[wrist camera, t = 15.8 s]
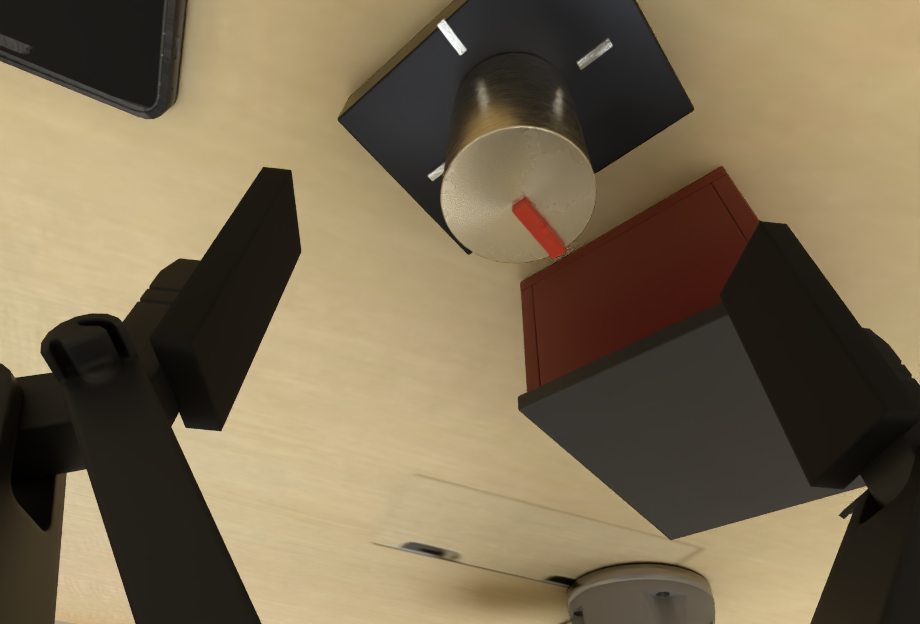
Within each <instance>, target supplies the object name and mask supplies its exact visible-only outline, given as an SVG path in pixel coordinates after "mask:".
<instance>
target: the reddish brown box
mask: <svg viewBox="0 0 920 624" xmlns="http://www.w3.org/2000/svg"><path fill="white" fill-rule="evenodd" d="M759 222H760V221H759V220H758V218H757V217H756V215H755V214H754V212H753V211H752V209H751V208H750V206H749V205H748V203H747V202H746V200H745V199H744V197H743V196H742V194H741V193H740V192H739V190H738V189H737V187H736V186H735V184H734V183H733V181H732V180H731V178H730V177H729V175H728V174H727V172H726V171H725V169H724V168H723V167H720V168H718V169H716V170H715V171H713V172H711V173H710V174H708V175H706V176H704V177H703V178H701V179H699V180H697V181H696V182H694V183H692V184H691V185H689V186H687V187H685V188H684V189H682V190H680V191H679V192H677V193H675V194H673V195H672V196H670V197H668V198H666V199H665V200H663V201H661V202H660V203H658V204H656V205H654V206H653V207H651V208H649V209H647V210H646V211H644V212H642V213H641V214H639V215H637V216H635V217H634V218H632V219H630V220H628V221H627V222H625V223H623V224H622V225H620V226H618V227H616V228H615V229H613V230H611V231H609V232H608V233H606V234H604V235H603V236H601V237H599V238H597V239H596V240H594V241H592V242H590V243H589V244H587V245H585V246H584V247H582V248H580V249H578V250H577V251H575V252H573V253H571V254H570V255H568V256H566V257H565V258H563V259H561V260H559V261H558V262H556V263H554V264H552V265H551V266H549V267H547V268H546V269H544V270H542V271H540V272H539V273H537V274H535V275H533V276H532V277H530V278H528V279H527V280H525V281H523V282H521V283H520V286H521V299H522V316H523V332H524V349H525V366H526V383H527V392H529V391H531V390H533V389H535V388H537V387H540V386H542V385H544V384H546V383H548V382H550V381H552V380H555V379H557V378H559V377H561V376H563V375H565V374H567V373H570V372H572V371H574V370H576V369H578V368H580V367H582V366H585V365H587V364H589V363H591V362H593V361H595V360H597V359H600V358H602V357H604V356H606V355H608V354H610V353H612V352H615V351H617V350H619V349H621V348H623V347H625V346H628V345H630V344H632V343H634V342H636V341H638V340H640V339H643V338H645V337H647V336H649V335H651V334H653V333H655V332H658V331H660V330H662V329H664V328H666V327H668V326H670V325H673V324H675V323H677V322H679V321H681V320H683V319H685V318H688V317H690V316H692V315H694V314H696V313H698V312H700V311H703V310H705V309H707V308H709V307H711V306H713V305H715V304H718V303H720V302H722V300H721V298H720V296H719V295H720V293H721V291H722V289H723V287H724V286H725V284H726V282H727V280H728V278H729V277H730V275H731V273H732V271H733V269H734V267H735V266H736V264H737V262H738V260H739V258H740V257H741V255H742V253H743V251H744V249H745V247H746V246H747V244H748V242H749V240H750V238H751V237H752V235H753V233H754V231H755V229H756V227H757V226H758V224H759Z"/></svg>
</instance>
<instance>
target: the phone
mask: <svg viewBox="0 0 920 624" xmlns="http://www.w3.org/2000/svg"><path fill="white" fill-rule="evenodd" d="M186 4H187V0H0V61H2V62H4V63H7V64H9V65H12V66H14V67H17V68H19V69H21V70H24V71H26V72H29V73H31V74H34V75H36V76H39V77H41V78H44V79H46V80H49V81H51V82H54V83H56V84H58V85H61V86H63V87H66V88H68V89H71V90H73V91H76V92H78V93H81V94H83V95H86V96H88V97H91V98H93V99H95V100H98V101H100V102H103V103H105V104H108V105H110V106H113V107H115V108H118V109H120V110H123V111H125V112H128V113H130V114H132V115H135V116H137V117H141V118H144V119H155V118H157V117H159V116H161V115H162V114H163V113H165V112H166V111H167V110H168V109H169V108H170V107H171V106H172V105H173V104H174V103H175V101H176V98H177V92H178V82H179V73H180V63H181V53H182V43H183V34H184V24H185V14H186Z"/></svg>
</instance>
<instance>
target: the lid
mask: <svg viewBox="0 0 920 624" xmlns="http://www.w3.org/2000/svg"><path fill="white" fill-rule="evenodd" d="M518 409H519V411H520V412H521V413H523V414H524V415H525V416H526V417H527V418H528V419H530V420H531V421H532V422H533V423H534V424H536V425H537V426H538V427H539V428H540V429H541V430H543V431H544V432H545V433H546V434H547V435H548V436H550V437H551V438H552V439H553V440H554V441H555V442H557V443H558V444H559V445H560V446H561V447H562V448H564V449H565V450H566V451H567V452H568V453H569V454H571V455H572V456H573V457H574V458H575V459H576V460H578V461H579V462H580V463H581V464H582V465H583V466H585V467H586V468H587V469H588V470H589V471H591V472H592V473H593V474H594V475H595V476H596V477H598V478H599V479H600V480H601V481H602V482H603V483H605V484H606V485H607V486H608V487H609V488H610V489H612V490H613V491H614V492H615V493H616V494H617V495H619V496H620V497H621V498H622V499H623V500H624V501H626V502H627V503H628V504H629V505H630V506H631V507H633V508H634V509H635V510H636V511H637V512H638V513H640V514H641V515H642V516H643V517H644V518H645V519H647V520H648V521H649V522H650V523H651V524H653V525H654V526H655V527H656V528H657V529H658V530H660V531H661V532H662V533H663V534H664V535H665V536H667V537H668V538H669V539H670V540H673V539H677V538H681V537H684V536H688V535H691V534H695V533H699V532H702V531H706V530H709V529H713V528H717V527H720V526H724V525H727V524H731V523H735V522H738V521H742V520H745V519H749V518H752V517H756V516H760V515H763V514H767V513H770V512H774V511H778V510H781V509H785V508H788V507H792V506H796V505H799V504H803V503H806V502H810V501H814V500H817V499H821V498H824V497H828V496H832V495H835V494H839V493H842V492H846V491H850V490H853V489H857V488H860V487H864V486H866V484H865V482H864V480H863V479H862V477H861V475H859V476H858V477H857V478H856V479H855V480H854V481H852V482H851V483H850V484H849V485H848V486H847V487H846V488H845V489H844V490H842V489H831V488H821V487H810V485H809V483H808V481H807V479H806V476H805V474H804V472H803V470H802V468H801V466H800V464H799V462H798V460H797V458H796V455H795V453H794V451H793V449H792V447H791V445H790V443H789V441H788V439H787V437H786V435H785V432H784V430H783V428H782V426H781V424H780V422H779V420H778V418H777V416H776V414H775V411H774V409H773V407H772V405H771V403H770V401H769V399H768V397H767V395H766V393H765V390H764V388H763V386H762V384H761V382H760V380H759V378H758V376H757V374H756V372H755V370H754V367H753V365H752V363H751V361H750V359H749V357H748V355H747V353H746V351H745V349H744V346H743V344H742V342H741V340H740V338H739V336H738V334H737V332H736V330H735V328H734V325H733V323H732V321H731V319H730V317H729V315H728V313H727V311H726V309H725V307H724V305H723V302H720V303H718V304H715V305H713V306H711V307H709V308H707V309H705V310H703V311H700V312H698V313H696V314H694V315H692V316H690V317H688V318H685V319H683V320H681V321H679V322H677V323H675V324H673V325H670V326H668V327H666V328H664V329H662V330H660V331H658V332H655V333H653V334H651V335H649V336H647V337H645V338H643V339H640V340H638V341H636V342H634V343H632V344H630V345H628V346H625V347H623V348H621V349H619V350H617V351H615V352H612V353H610V354H608V355H606V356H604V357H602V358H600V359H597V360H595V361H593V362H591V363H589V364H587V365H585V366H582V367H580V368H578V369H576V370H574V371H572V372H570V373H567V374H565V375H563V376H561V377H559V378H557V379H555V380H552V381H550V382H548V383H546V384H544V385H542V386H540V387H537V388H535V389H533V390H531V391H529V392H527V393H524V394H522V395H520V396H518Z"/></svg>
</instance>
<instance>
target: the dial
mask: <svg viewBox="0 0 920 624" xmlns="http://www.w3.org/2000/svg"><path fill="white" fill-rule="evenodd" d="M596 193H597V189H596V180H595V175H594V171H593V168H592V165H591V161H590V158H589V154H588V151H587V148H586V144H585V141H584V137H583V134H582V130H581V127H580V124H579V120H578V117H577V113H576V110H575V106H574V103H573V100H572V96H571V93H570V90H569V88H568V85H567V83H566V81H565V80H564V78H563V77H562V75H561V74H560V73H559V71H558V70H557V69H555V68H554V67H553V66H552V65H551V64H549V63H548V62H547V61H545V60H543V59H541V58H539V57H536V56H533V55H530V54H525V53H505V54H501V55H497V56H494V57H491V58H489V59H487V60H485V61H483V62H482V63H480V64H479V65H477V66H476V67H475V68H474V69H473V70H472V71H471V72H470V73H469V74H468V75H467V76H466V77H465V79H464V80H463V81H462V83H461V85H460V86H459V89H458V91H457V93H456V96H455V99H454V104H453V110H452V117H451V124H450V131H449V137H448V144H447V151H446V158H445V165H444V172H443V179H442V185H441V197H440V201H441V208H442V213H443V216H444V219H445V221H446V223H447V226H448V227H449V229H450V230H451V232H452V233H453V235H454V236H455V237H456V238H457V239H458V241H460V242H461V243H462V244H463V245H464V246H465V247H466V248H468V249H469V250H471V251H472V252H474V253H476V254H478V255H480V256H482V257H484V258H487V259H490V260H494V261H498V262H504V263H526V262H533V261H537V260H540V259H544V258H546V257H549V256H550V257H551V258H552V259H555V258H557V257H558V256H560V255H562V254H563V253H565V252H566V247H567V246H568V245H569V244H570V243H572V242H573V241H574V240H575V239H576V238H577V237H578V236H579V235H580V234H581V232H582V231H583V230H584V228H585V227H586V225H587V223H588V222H589V220H590V218H591V215H592V213H593V210H594V207H595V202H596Z"/></svg>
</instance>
